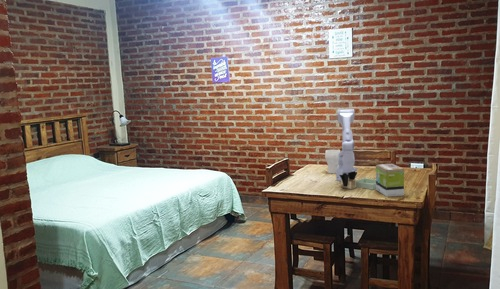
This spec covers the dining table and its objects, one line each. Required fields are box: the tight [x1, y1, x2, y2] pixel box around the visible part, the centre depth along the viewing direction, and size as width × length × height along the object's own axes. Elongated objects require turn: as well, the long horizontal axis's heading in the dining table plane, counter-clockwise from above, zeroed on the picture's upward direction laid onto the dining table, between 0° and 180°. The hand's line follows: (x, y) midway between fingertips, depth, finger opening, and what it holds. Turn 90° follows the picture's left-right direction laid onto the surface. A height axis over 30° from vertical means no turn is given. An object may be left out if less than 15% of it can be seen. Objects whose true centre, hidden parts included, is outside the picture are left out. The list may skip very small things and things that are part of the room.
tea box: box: [375, 163, 405, 198], centre depth 231 cm, size 15×10×15 cm, turn 5°
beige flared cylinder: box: [324, 149, 341, 174], centre depth 291 cm, size 11×11×15 cm
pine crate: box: [340, 179, 357, 190], centre depth 247 cm, size 7×5×4 cm
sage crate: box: [355, 177, 376, 191], centre depth 249 cm, size 13×11×3 cm
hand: (348, 185), depth 247 cm, fingers closed on pine crate, 5 cm apart
